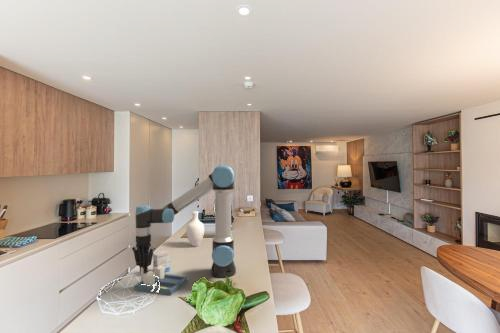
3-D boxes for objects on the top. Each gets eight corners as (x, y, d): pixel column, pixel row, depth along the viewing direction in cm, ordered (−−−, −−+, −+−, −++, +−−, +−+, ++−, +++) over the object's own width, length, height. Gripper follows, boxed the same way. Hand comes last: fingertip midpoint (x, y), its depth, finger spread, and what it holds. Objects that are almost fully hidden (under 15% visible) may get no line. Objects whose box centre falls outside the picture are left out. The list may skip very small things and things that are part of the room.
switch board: (187, 281, 138) (187, 276, 138) (171, 295, 122) (171, 289, 122) (154, 276, 144) (154, 272, 144) (134, 289, 128) (134, 284, 128)
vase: (207, 246, 200) (207, 212, 200) (190, 249, 192) (190, 213, 192) (200, 242, 212) (200, 209, 212) (183, 245, 204) (183, 211, 204)
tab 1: (154, 283, 132) (154, 270, 132) (149, 286, 128) (149, 273, 128) (148, 282, 133) (148, 270, 133) (143, 286, 129) (143, 273, 129)
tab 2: (164, 277, 139) (164, 265, 139) (159, 280, 135) (159, 267, 136) (158, 276, 140) (158, 264, 141) (153, 279, 137) (153, 267, 137)
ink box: (165, 268, 155) (165, 250, 155) (170, 270, 152) (169, 251, 152) (152, 273, 149) (152, 253, 149) (157, 275, 145) (157, 255, 146)
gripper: (158, 233, 134) (158, 277, 133) (138, 232, 137) (138, 274, 137) (149, 237, 126) (149, 283, 126) (128, 235, 130) (128, 280, 130)
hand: (143, 278), depth 131 cm, fingers closed
